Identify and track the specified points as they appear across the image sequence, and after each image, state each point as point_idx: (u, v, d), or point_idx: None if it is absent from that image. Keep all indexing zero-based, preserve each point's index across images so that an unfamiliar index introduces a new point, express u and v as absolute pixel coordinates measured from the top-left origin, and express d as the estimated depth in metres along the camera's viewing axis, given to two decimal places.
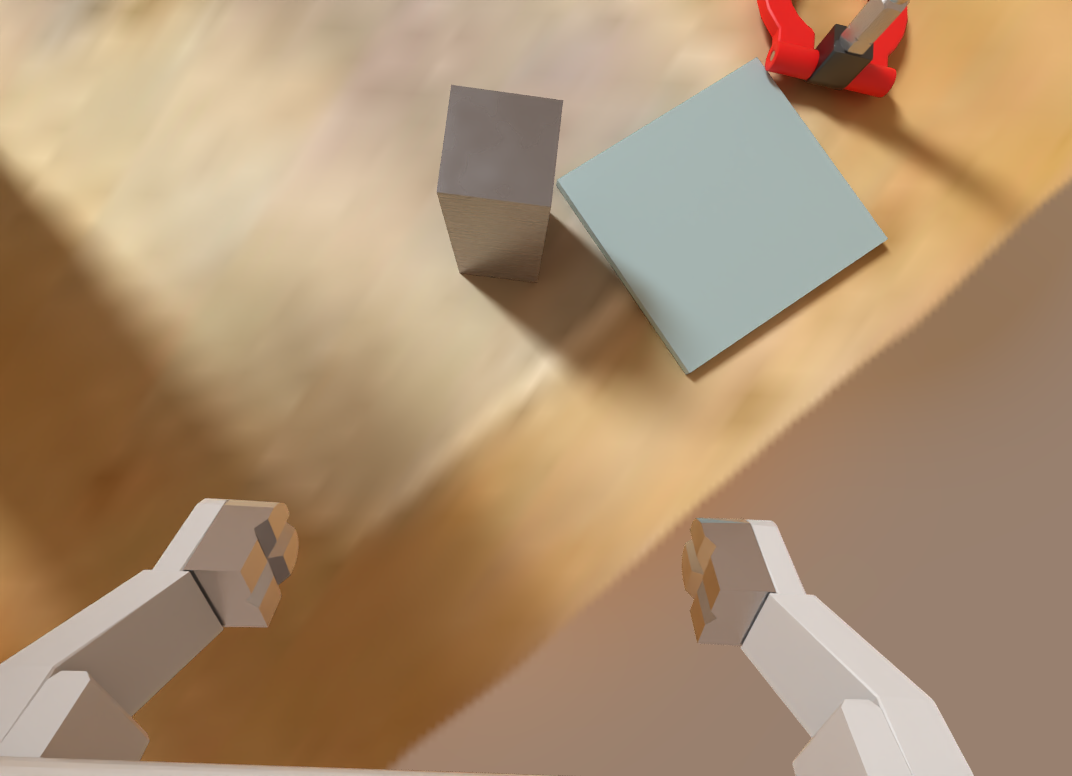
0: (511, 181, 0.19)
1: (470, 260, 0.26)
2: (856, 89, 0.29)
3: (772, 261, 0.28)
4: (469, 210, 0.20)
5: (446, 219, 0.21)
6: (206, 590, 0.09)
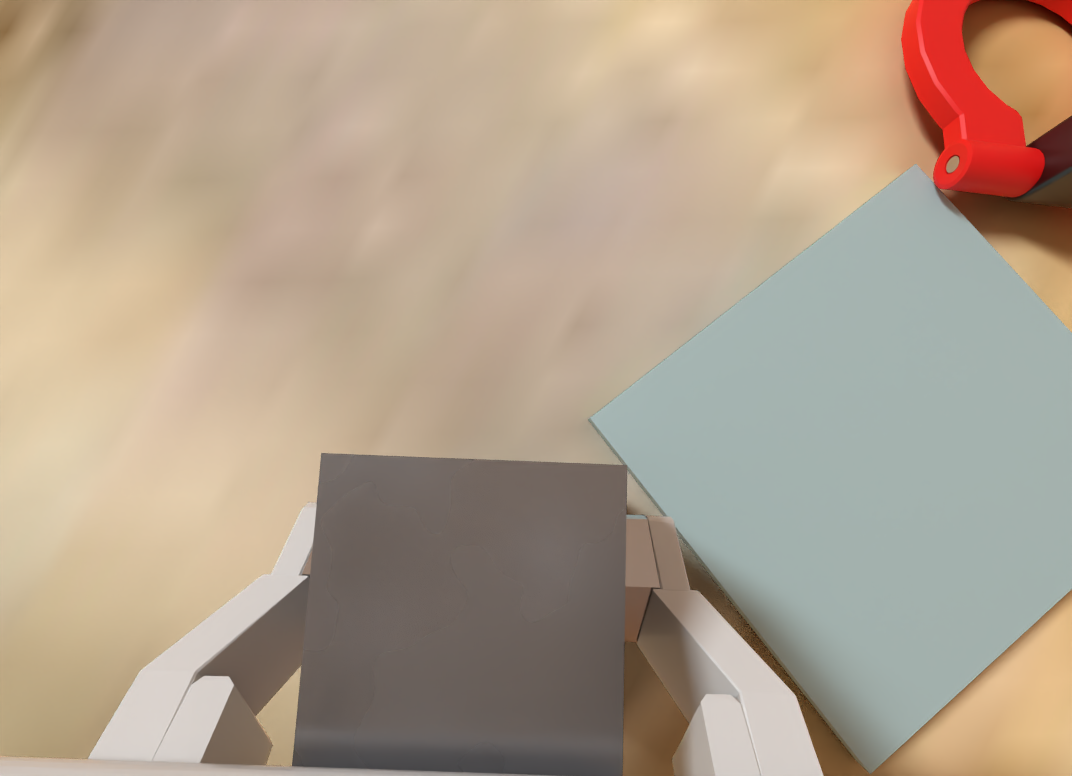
0: (502, 729, 0.07)
1: None
2: None
3: (995, 535, 0.15)
4: None
5: None
6: None
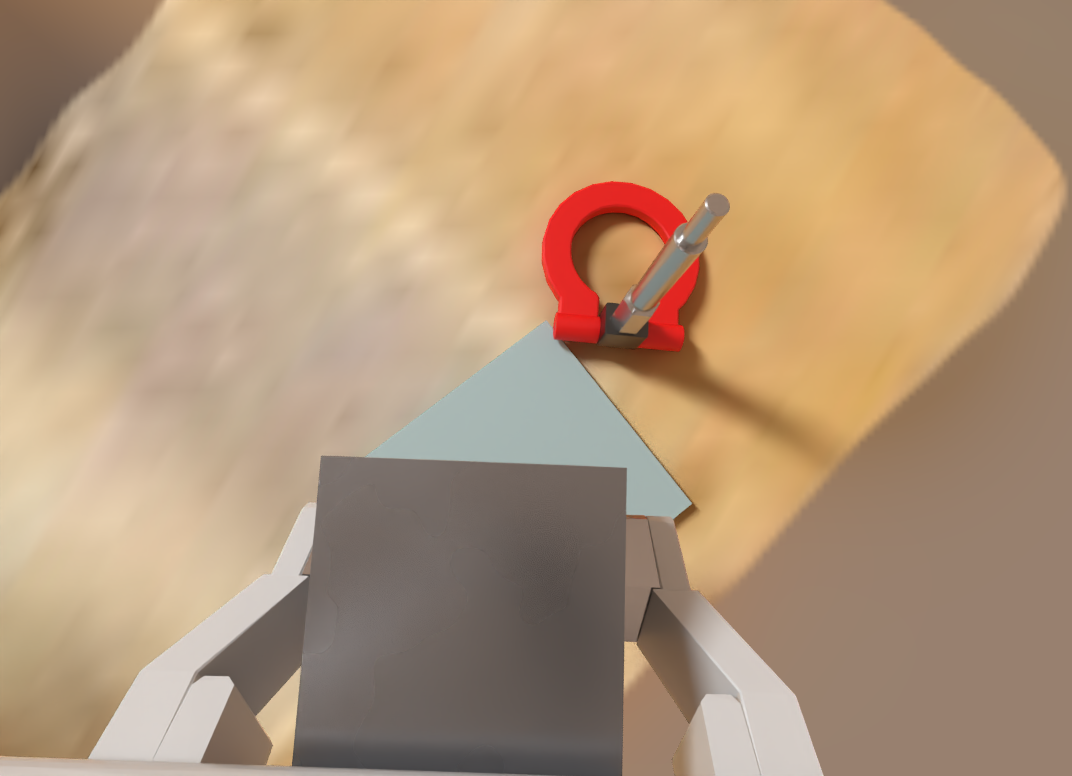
0: (502, 732, 0.07)
1: None
2: (648, 348, 0.28)
3: None
4: None
5: None
6: None
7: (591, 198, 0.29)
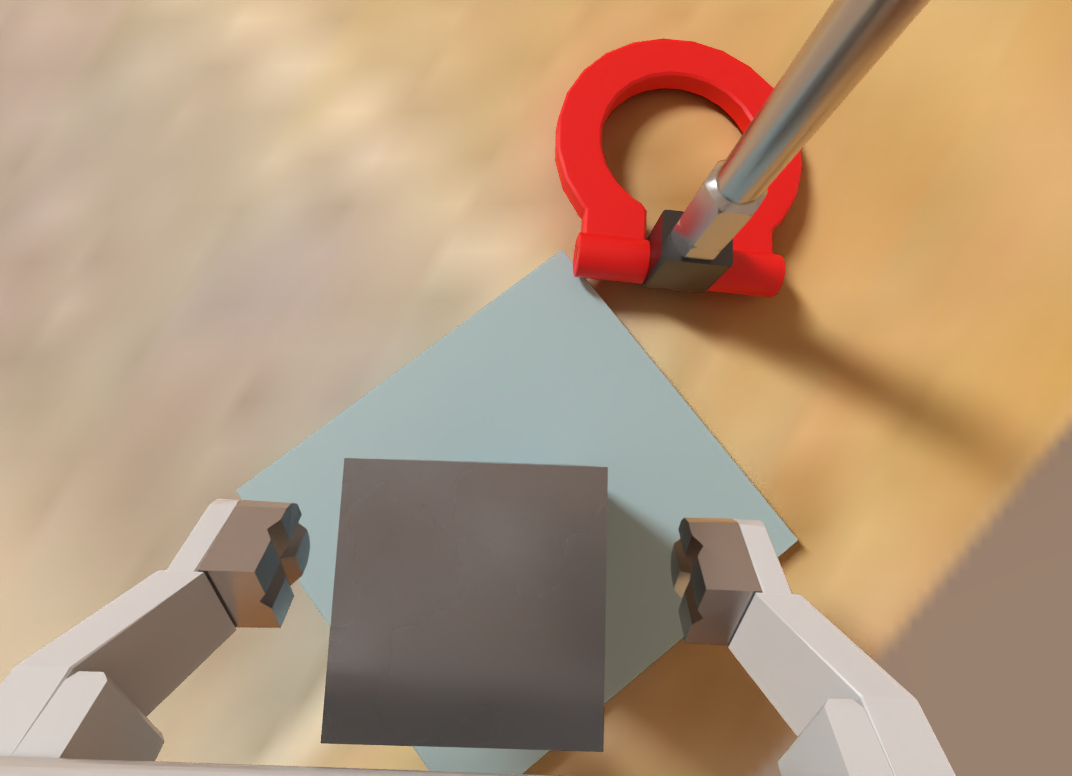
0: (501, 693, 0.08)
1: None
2: (724, 291, 0.17)
3: None
4: None
5: None
6: (220, 591, 0.09)
7: (632, 62, 0.19)
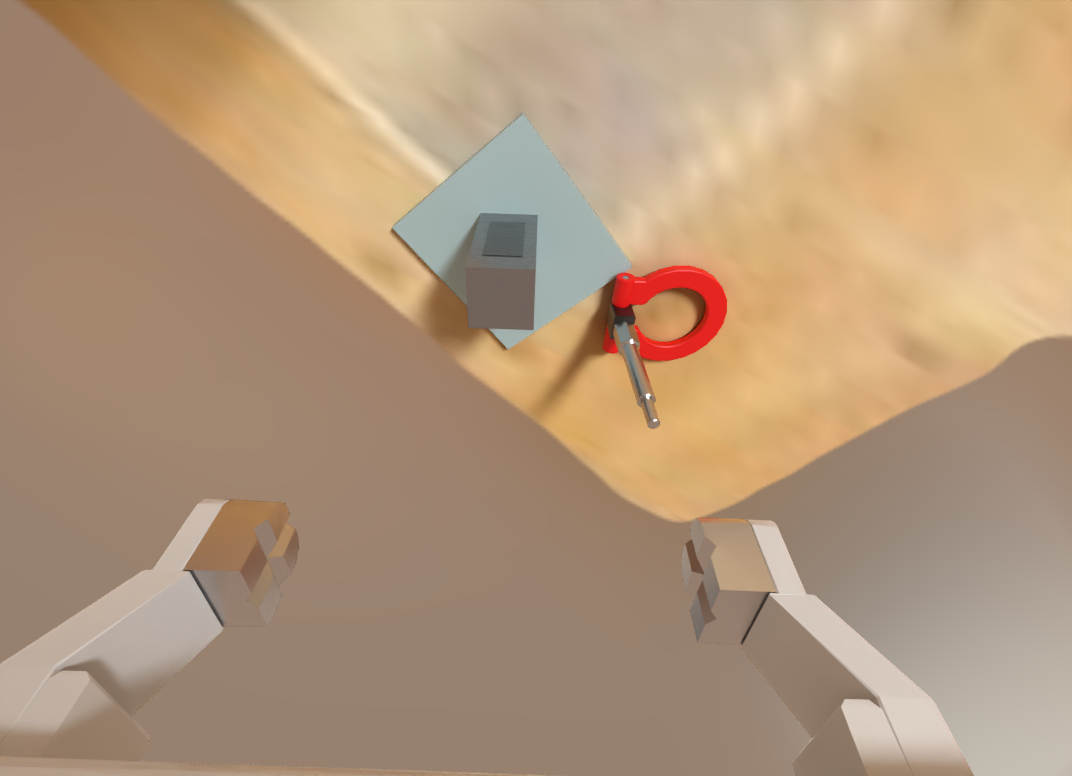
0: (479, 306, 0.32)
1: None
2: (606, 330, 0.43)
3: None
4: None
5: (469, 252, 0.32)
6: (206, 590, 0.09)
7: (716, 299, 0.41)
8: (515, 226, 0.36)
